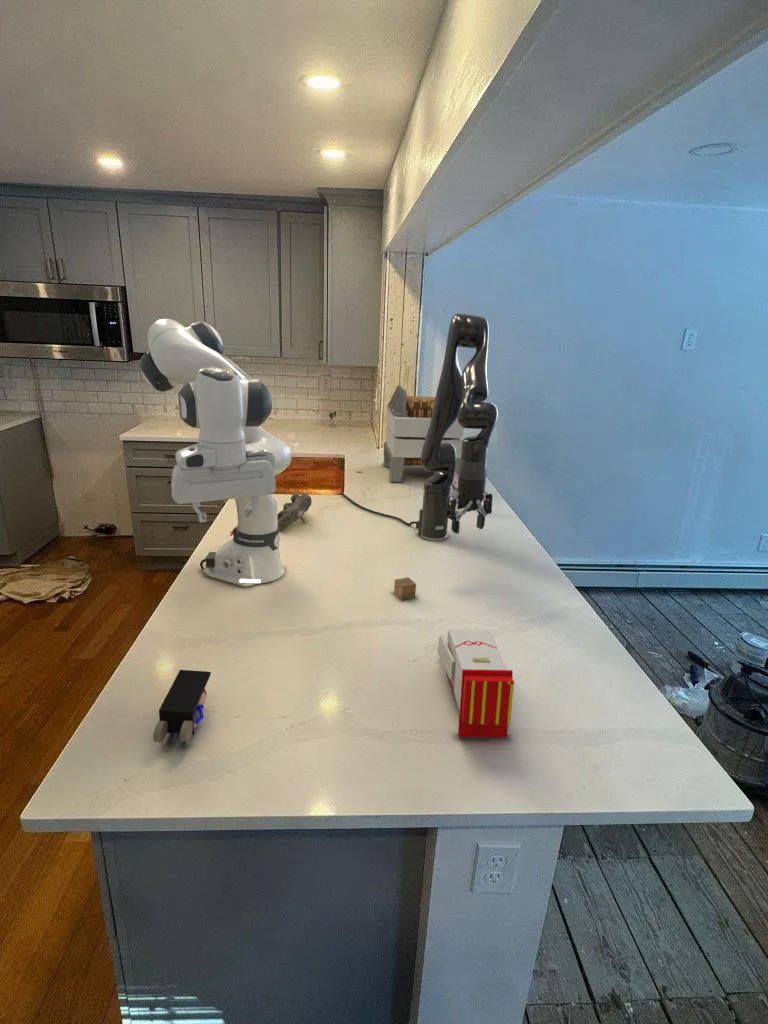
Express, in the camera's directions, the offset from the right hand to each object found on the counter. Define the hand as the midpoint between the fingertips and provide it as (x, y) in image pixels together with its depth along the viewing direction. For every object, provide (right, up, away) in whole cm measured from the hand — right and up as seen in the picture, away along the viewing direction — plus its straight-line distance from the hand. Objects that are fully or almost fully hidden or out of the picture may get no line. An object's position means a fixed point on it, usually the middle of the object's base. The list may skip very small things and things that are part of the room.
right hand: (467, 530), depth 161 cm
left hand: (-56, +4, -45) cm, 72 cm away
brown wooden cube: (-18, -18, -4) cm, 26 cm away
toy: (-6, -32, -43) cm, 54 cm away
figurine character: (-61, -35, -56) cm, 89 cm away
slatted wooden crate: (-7, +24, +114) cm, 116 cm away
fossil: (-57, +2, +45) cm, 73 cm away
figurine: (+6, +8, +71) cm, 72 cm away
